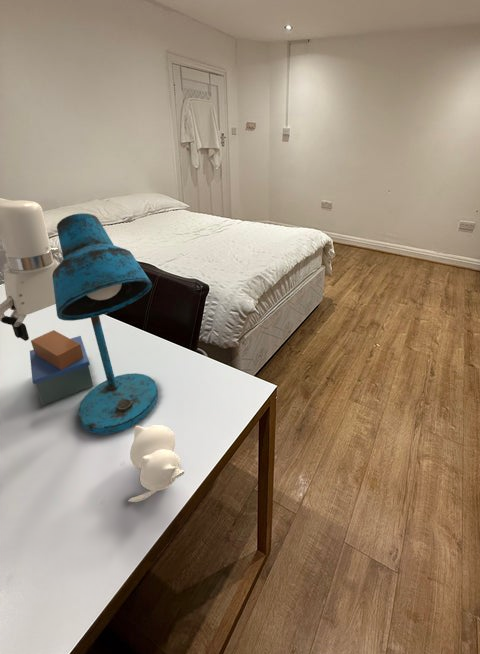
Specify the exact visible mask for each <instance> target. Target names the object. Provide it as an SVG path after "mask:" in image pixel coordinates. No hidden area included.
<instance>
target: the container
mask: <svg viewBox="0 0 480 654" xmlns="http://www.w3.org/2000/svg"><path fill="white" fill-rule="evenodd" d="M70 339H71V340H73V341H75V342H77V343H79V344H80V346H81V350H82V354H83V358H82V359H80V360H79V361H77V362H75V363H73V364H71V365H70V366H68V367H66V368H64V369H63V370H60V369H59V368H57V367H55V366H54V365H52V364H50V363H49V362H47V361H46V360H44V359H42V358H41V357H39V356H37V355H36V354H35V352H34V349H31V350H29V358H30V359H29V361H30V370H31V380H32V384H33V385H34V386H35V387H36V390H37V393H38V396H39V399H40V402H41V405H42V406H45V405H49V404H51V403H54V402H56V401H59V400H61V399H64V398H66V397H69V396H71V395H74V394H77V393H79V392H81V391H84V390H87V389H90V388H93V387H94V383H93V379H92V375H91V374H92V373H91V371H90V367H89V366H91V364H90V363H91V362H90V361H89V356H88V354H87V351H86V348H85V345H84V342H83V339H82V336H81V335H78V336H75V337H72V338H70Z"/></svg>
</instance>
